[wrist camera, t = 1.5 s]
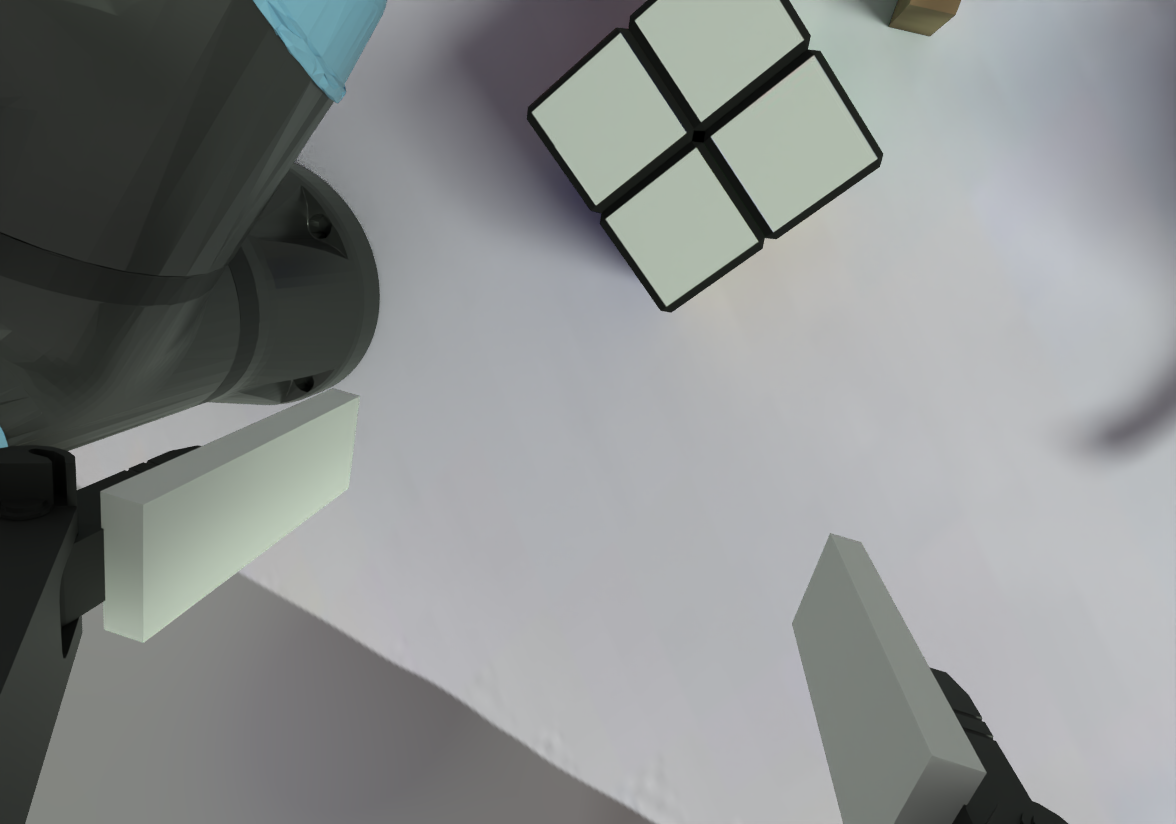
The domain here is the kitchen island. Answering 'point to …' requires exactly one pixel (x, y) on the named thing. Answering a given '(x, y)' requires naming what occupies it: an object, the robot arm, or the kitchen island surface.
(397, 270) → the kitchen island surface
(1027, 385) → the kitchen island surface
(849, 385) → the kitchen island surface
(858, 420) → the kitchen island surface
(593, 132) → the puzzle cube
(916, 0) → the walnut dock
